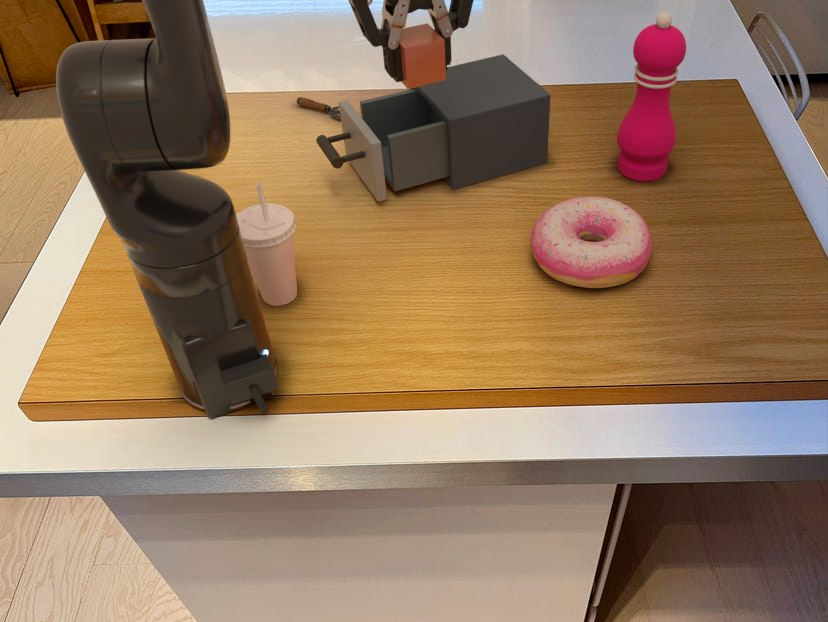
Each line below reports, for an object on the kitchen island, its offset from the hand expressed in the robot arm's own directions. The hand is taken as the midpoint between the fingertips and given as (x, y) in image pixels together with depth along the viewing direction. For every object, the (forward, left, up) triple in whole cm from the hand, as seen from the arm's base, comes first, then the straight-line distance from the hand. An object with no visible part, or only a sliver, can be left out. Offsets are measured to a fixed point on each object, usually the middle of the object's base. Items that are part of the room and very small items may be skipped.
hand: (419, 73), depth 87 cm
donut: (-17, -12, -18) cm, 27 cm away
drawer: (+9, +1, -17) cm, 19 cm away
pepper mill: (-4, -28, -18) cm, 34 cm away
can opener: (+29, +4, -18) cm, 34 cm away
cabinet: (+9, -11, -18) cm, 23 cm away
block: (0, 0, 0) cm, 0 cm away
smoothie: (-7, +21, -18) cm, 28 cm away
